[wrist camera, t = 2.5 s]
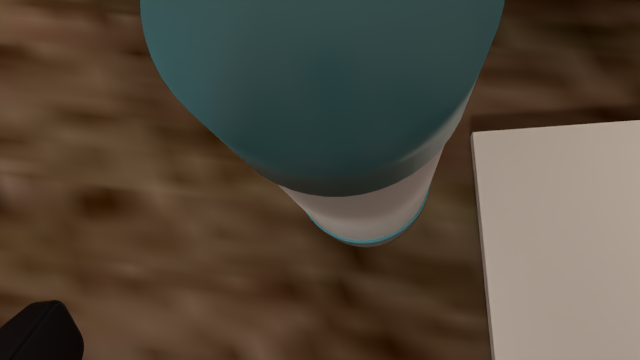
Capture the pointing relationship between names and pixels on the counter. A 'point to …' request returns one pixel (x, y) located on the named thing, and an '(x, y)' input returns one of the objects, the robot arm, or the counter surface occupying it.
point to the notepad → (560, 240)
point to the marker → (329, 94)
